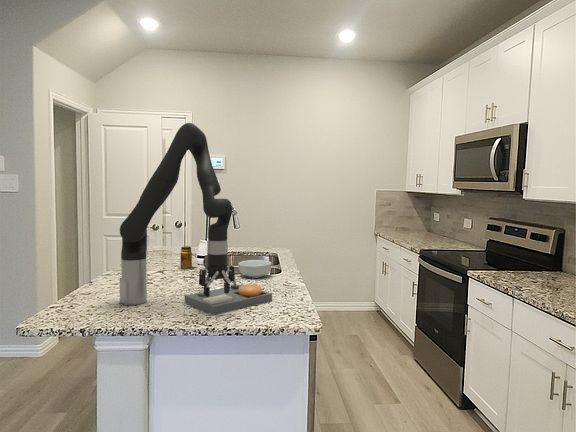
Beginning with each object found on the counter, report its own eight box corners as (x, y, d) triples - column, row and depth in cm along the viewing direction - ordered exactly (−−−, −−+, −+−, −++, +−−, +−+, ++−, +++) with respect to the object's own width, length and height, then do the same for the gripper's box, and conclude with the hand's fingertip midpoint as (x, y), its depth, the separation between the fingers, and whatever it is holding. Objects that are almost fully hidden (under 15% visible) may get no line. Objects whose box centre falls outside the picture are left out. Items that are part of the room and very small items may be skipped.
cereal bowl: (254, 271, 224) (254, 258, 223) (278, 276, 213) (278, 262, 213) (231, 276, 211) (231, 262, 210) (255, 281, 200) (255, 267, 199)
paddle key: (211, 307, 152) (211, 301, 151) (202, 304, 155) (202, 298, 155) (232, 302, 158) (232, 297, 158) (224, 299, 162) (224, 294, 162)
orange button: (248, 297, 161) (248, 291, 161) (234, 292, 168) (234, 287, 167) (266, 293, 167) (266, 287, 167) (251, 289, 174) (251, 283, 174)
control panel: (213, 315, 149) (213, 303, 148) (184, 302, 163) (184, 292, 163) (272, 300, 168) (272, 290, 168) (241, 291, 182) (241, 281, 182)
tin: (202, 269, 227) (202, 253, 226) (206, 268, 230) (206, 253, 229) (225, 272, 220) (225, 256, 219) (228, 271, 223) (228, 255, 222)
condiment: (177, 269, 226) (177, 247, 225) (186, 266, 234) (186, 245, 233) (188, 270, 224) (188, 248, 223) (197, 267, 232) (197, 246, 231)
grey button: (201, 296, 161) (201, 292, 161) (196, 294, 164) (196, 290, 164) (209, 295, 164) (209, 291, 164) (204, 293, 166) (204, 289, 166)
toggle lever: (234, 285, 173) (232, 272, 174) (232, 285, 175) (229, 273, 176) (238, 284, 175) (235, 271, 176) (235, 285, 176) (233, 272, 177)
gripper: (206, 255, 147) (205, 300, 149) (239, 251, 157) (238, 294, 158) (195, 252, 153) (195, 295, 154) (227, 249, 162) (227, 290, 164)
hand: (216, 294), depth 156 cm, fingers open, 8 cm apart
